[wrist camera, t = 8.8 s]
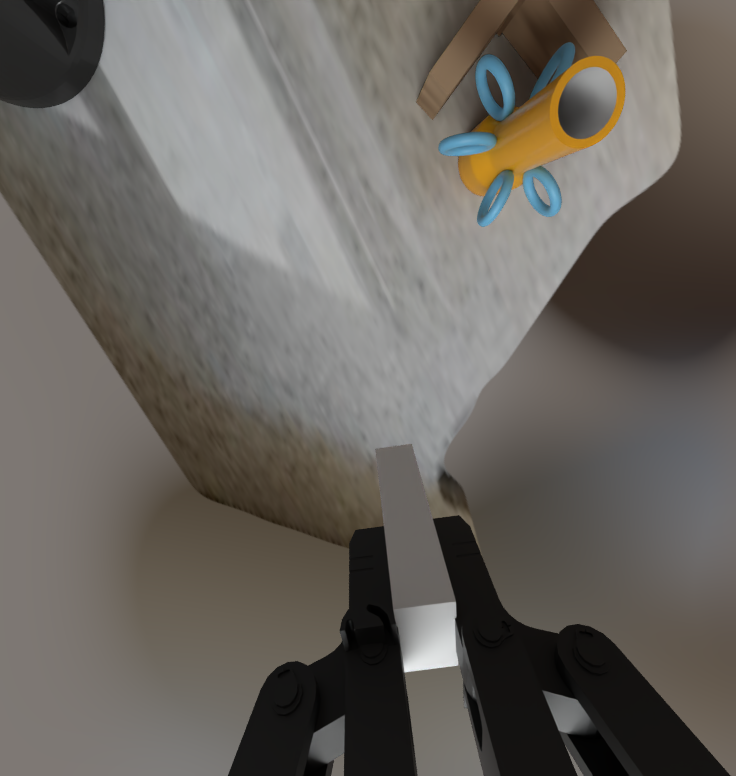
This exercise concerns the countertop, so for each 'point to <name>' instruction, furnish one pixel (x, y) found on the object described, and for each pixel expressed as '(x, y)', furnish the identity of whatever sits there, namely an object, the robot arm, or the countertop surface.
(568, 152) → the yellow and blue tube
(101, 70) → the countertop surface
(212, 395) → the countertop surface
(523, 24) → the v block
